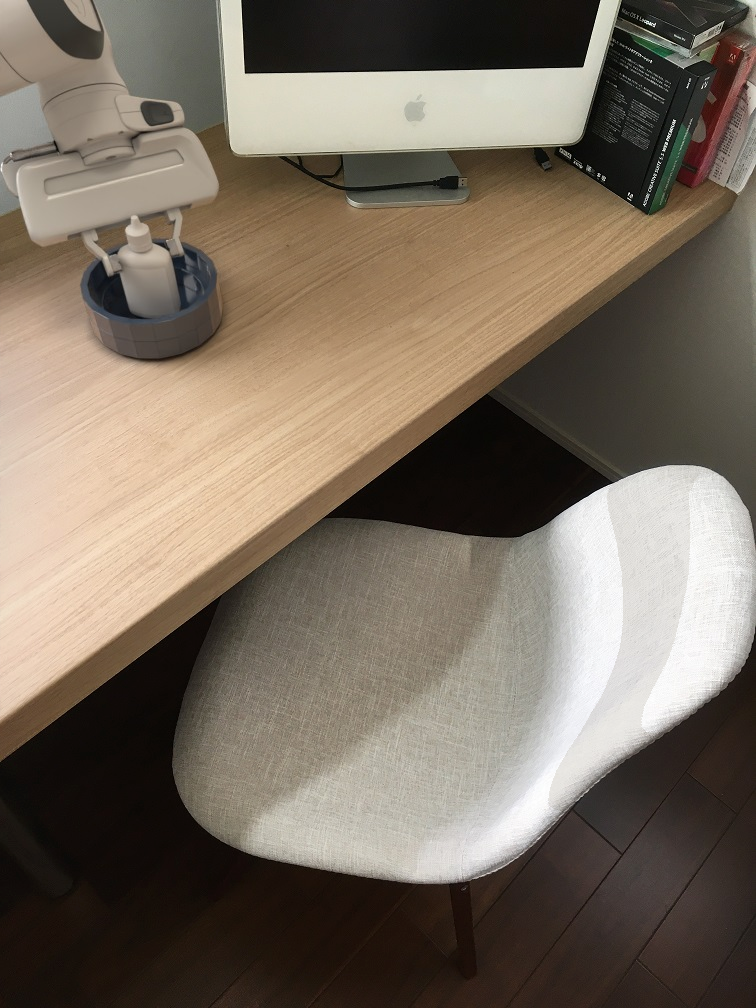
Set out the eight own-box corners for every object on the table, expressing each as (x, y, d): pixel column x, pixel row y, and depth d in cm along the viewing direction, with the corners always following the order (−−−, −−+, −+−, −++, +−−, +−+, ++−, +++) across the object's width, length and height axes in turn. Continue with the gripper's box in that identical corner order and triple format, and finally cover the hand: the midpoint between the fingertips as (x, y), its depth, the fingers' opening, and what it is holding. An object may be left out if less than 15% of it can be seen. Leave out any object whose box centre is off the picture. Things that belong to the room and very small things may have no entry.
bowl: (104, 375, 85) (91, 336, 80) (84, 291, 93) (71, 251, 88) (236, 346, 88) (231, 307, 84) (206, 267, 96) (200, 228, 92)
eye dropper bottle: (162, 330, 87) (140, 237, 78) (124, 311, 89) (98, 218, 79) (187, 309, 90) (169, 216, 80) (150, 290, 91) (128, 197, 82)
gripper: (-10, 144, 74) (48, 287, 78) (194, 100, 81) (240, 234, 84) (-5, 164, 80) (49, 297, 83) (186, 122, 87) (229, 246, 90)
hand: (147, 265), depth 84 cm, fingers closed on eye dropper bottle, 5 cm apart
